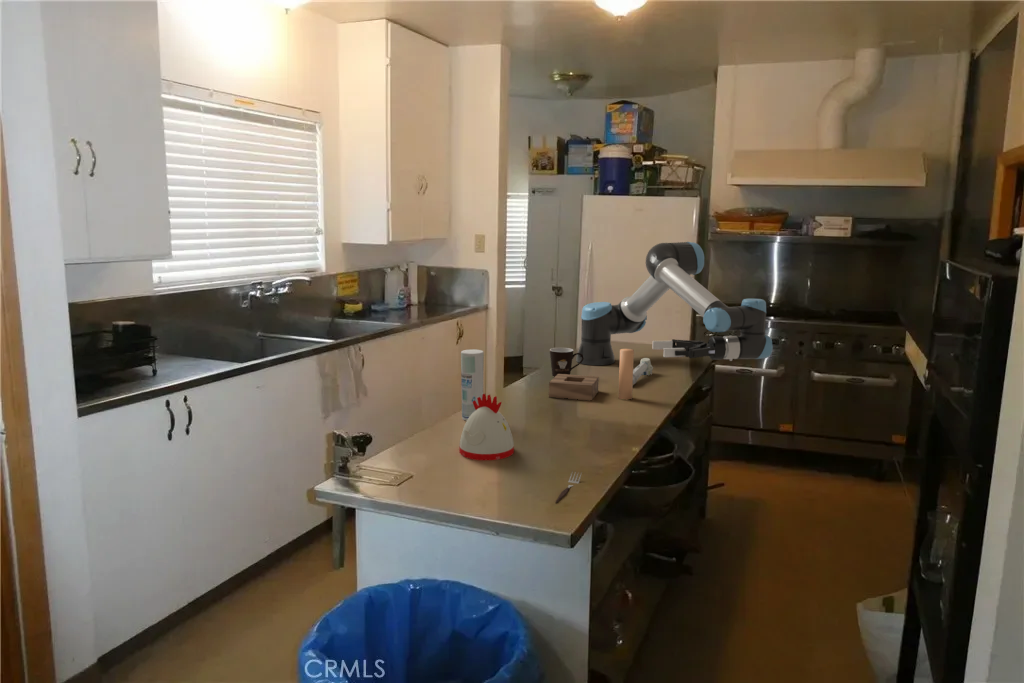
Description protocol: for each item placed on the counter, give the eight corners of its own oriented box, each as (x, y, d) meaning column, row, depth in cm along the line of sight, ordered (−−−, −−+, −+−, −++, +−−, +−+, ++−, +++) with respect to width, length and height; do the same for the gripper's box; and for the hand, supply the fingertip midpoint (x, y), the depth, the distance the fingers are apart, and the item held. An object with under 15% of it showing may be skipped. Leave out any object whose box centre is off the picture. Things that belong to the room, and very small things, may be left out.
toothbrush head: (620, 375, 259) (640, 353, 280) (620, 393, 261) (641, 370, 282) (634, 377, 257) (654, 354, 278) (634, 395, 259) (654, 371, 280)
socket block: (557, 388, 257) (557, 373, 256) (598, 391, 253) (598, 376, 252) (549, 397, 244) (549, 382, 243) (591, 400, 241) (591, 385, 240)
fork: (549, 504, 158) (549, 495, 158) (571, 478, 173) (571, 470, 173) (561, 506, 158) (561, 497, 157) (582, 480, 172) (582, 472, 172)
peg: (619, 396, 246) (620, 348, 243) (632, 397, 245) (634, 349, 242) (617, 399, 242) (619, 350, 239) (631, 400, 241) (632, 351, 238)
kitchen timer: (494, 464, 182) (494, 404, 179) (448, 454, 189) (447, 396, 186) (523, 448, 193) (524, 392, 191) (479, 439, 201) (479, 385, 198)
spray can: (488, 418, 220) (488, 351, 217) (472, 422, 216) (472, 354, 212) (472, 414, 225) (472, 348, 221) (456, 418, 220) (456, 351, 216)
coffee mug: (546, 378, 271) (546, 351, 269) (553, 373, 279) (554, 346, 277) (576, 381, 267) (577, 353, 265) (583, 376, 275) (584, 349, 273)
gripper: (736, 366, 231) (668, 368, 229) (709, 352, 255) (648, 353, 254) (737, 342, 229) (669, 343, 228) (710, 330, 254) (648, 331, 252)
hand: (658, 348), depth 241 cm, fingers open, 13 cm apart
